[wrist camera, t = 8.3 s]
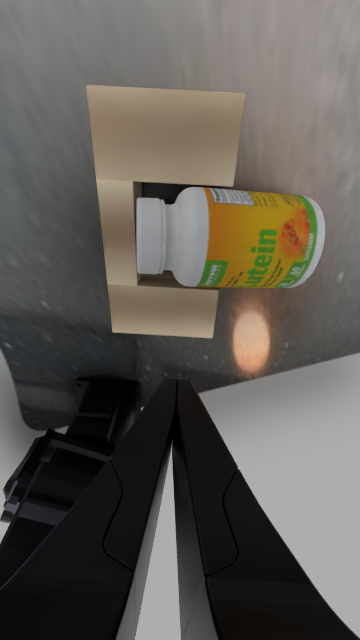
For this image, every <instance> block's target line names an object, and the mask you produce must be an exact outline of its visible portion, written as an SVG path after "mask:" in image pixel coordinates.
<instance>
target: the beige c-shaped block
mask: <svg viewBox="0 0 360 640" xmlns="http://www.w3.org/2000/svg"><path fill="white" fill-rule="evenodd" d="M86 89H87V98H88V107H89V117H90V126H91V135H92V144H93V154H94V163H95V172H96V182H97V191H98V200H99V210H100V219H101V228H102V237H103V247H104V256H105V265H106V275H107V284H108V293H109V303H110V312H111V321H112V330H113V332H116V333H133V334H150V335H167V336H184V337H201V338H213V331H214V324H215V317H216V309H217V302H218V294H219V288H218V287H190V286H184V285H182V284H180V283H179V282H178V281H177V280H176V279H175V277H174V275H173V272H167V271H163V273H162V274H159V273H158V274H139V273H138V272H137V246H136V209H137V198H142V182H155V183H174V184H193V185H211V186H230V187H233V184H234V176H235V169H236V162H237V154H238V147H239V139H240V132H241V125H242V117H243V110H244V103H245V95H246V93H235V92H215V91H195V90H176V89H156V88H137V87H117V86H97V85H86Z"/></svg>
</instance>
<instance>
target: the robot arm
mask: <svg viewBox="0 0 360 640" xmlns="http://www.w3.org/2000/svg"><path fill="white" fill-rule="evenodd" d="M133 386H135V387H133ZM74 387H75V391H76V396H77V400H78V404H79V405H78V408H77V410H76V412H75V414H74V416H73V418H72V420H71V423H70V425H69V427H68V429H67V431H66V433H65V435H64V434H61V433H58V432H55V430H53V429H50V428H49V429H48V431H47V432H46V434H45V436H42V437H39V438H36V439H35V440H34V442H33V444H32V446H31V447H30V449H29V451H28V453H27V454H26V456H25V457H24V459H23V461H22V462H21V463H20V465H19V466H18V467H17V469H16V470H15V472H14V473H13V475H12V476H11V477H10V479H9V480H8V481H7V483H6V485H5V487H4V489H3V491H4V495H5V498H6V501H5V504H4V507H5V509H4V511H3V514H2V516H1V519H0V521H2V522H6V523H10V525H9V527H8V529H7V531H6V533H5V536H4V538H3V539H2V541H1V544H0V640H135V639H134V638H135V635H136V630H137V625H138V619H139V615H140V609H141V604H142V599H143V593H144V588H145V583H146V577H147V572H148V567H149V562H150V557H151V551H152V547H153V541H154V536H155V530H156V526H157V520H158V515H159V510H160V505H161V499H162V494H163V489H164V483H165V478H166V473H167V468H168V463H169V458H170V452H171V446H172V460H173V481H174V500H175V522H176V543H177V563H178V584H179V604H180V626H181V640H360V638H359V637H358V636H356V635H355V633H353V632H352V631H351V630H350V629H349V628H348V627H347V625H345V624H344V622H343V621H342V620H341V619H340V618H339V617H338V616H337V615H336V613H335V612H334V611H333V610H332V609H331V608H330V606H329V605H328V604H327V602H326V601H325V600H324V599H323V597H322V596H321V595H320V593H319V592H318V590H317V589H316V588H315V586H314V585H313V583H312V582H311V580H310V579H309V578H308V576H307V575H306V573H305V572H304V570H303V569H302V567H301V566H300V564H299V563H298V561H297V560H296V558H295V557H294V555H293V554H292V552H291V551H290V550H289V548H288V547H287V545H286V544H285V542H284V541H283V539H282V538H281V536H280V535H279V533H278V532H277V530H276V529H275V528H274V526H273V525H272V523H271V522H270V520H269V518H268V517H267V515H266V514H265V512H264V511H263V509H262V508H261V506H260V505H259V503H258V501H257V500H256V498H255V496H254V495H253V493H252V491H251V489H250V488H249V486H248V484H247V483H246V481H245V479H244V477H243V475H242V473H241V472H240V470H239V469H238V466H237V464H236V463H235V461H234V459H233V457H232V455H231V454H230V452H229V450H228V448H227V446H226V445H225V443H224V441H223V439H222V437H221V435H220V434H219V432H218V430H217V428H216V426H215V424H214V422H213V421H212V419H211V417H210V415H209V413H208V411H207V410H206V408H205V406H204V404H203V403H202V401H201V399H200V397H199V395H198V393H197V391H196V390H195V388H194V386H193V384H192V382H191V381H190V380H189V379H184V378H179V379H178V380H177V379H176V378H172V377H165V378H164V379H163V381H162V382H161V383H160V385H159V386H158V388H157V389H156V391H155V392H154V394H153V395H152V396H151V398H150V399H149V401H148V402H147V404H146V405H145V407H144V408H143V410H142V411H141V404H140V385H139V383H137V382H133V381H116V380H100V379H83V378H78V379H76V380H75V382H74Z"/></svg>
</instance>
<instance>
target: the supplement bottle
mask: <svg viewBox="0 0 360 640" xmlns="http://www.w3.org/2000/svg"><path fill="white" fill-rule="evenodd" d="M324 240H325V222H324V216H323V213H322V210H321V208H320V207H319V205H318V204H317V203H316V202H315V201H314V200H313V199H311V198H309V197H306V196H299V195H290V194H277V193H265V192H252V191H241V190H228V189H216V188H205V187H189V188H186V189H184V190H183V191H182V192H181V193H180V194H179V195H178V197H177V199H176V201H175V203H174V204H171V205H169V204H165V202H164V200H162V199H161V200H160V199H158V198H137V209H136V246H137V272H138V273H139V274H158V273H159V274H162V273H163V270H170V271H172V272H173V275H174V277H175V279H176V280H177V281H178V282H179V283H180V284H182V285H184V286H190V287H248V288H250V287H252V288H292V287H295V286H298V285H300V284H302V283H303V282H304V281H306V280H307V279H308V278H309V276H310V275H311V274H312V273H313V271H314V270H315V268H316V266H317V264H318V262H319V259H320V256H321V254H322V250H323V246H324Z"/></svg>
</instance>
